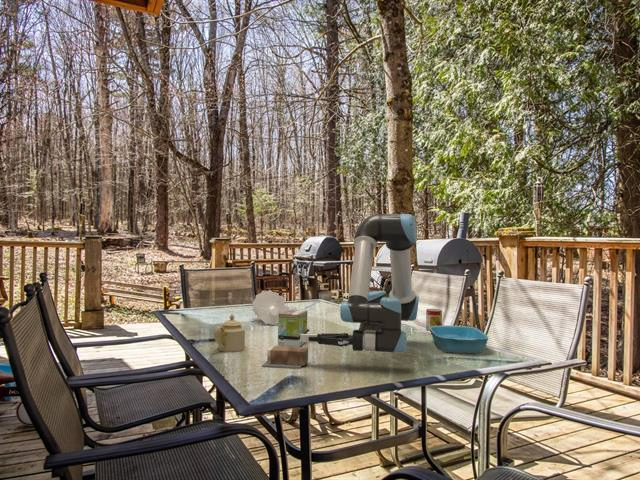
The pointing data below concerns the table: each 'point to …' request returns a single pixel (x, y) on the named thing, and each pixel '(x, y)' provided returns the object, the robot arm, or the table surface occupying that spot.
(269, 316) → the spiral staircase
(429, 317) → the canned food
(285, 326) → the tea box
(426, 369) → the table surface
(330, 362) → the table surface
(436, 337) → the casserole dish
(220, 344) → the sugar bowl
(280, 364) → the mat
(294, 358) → the walnut block
